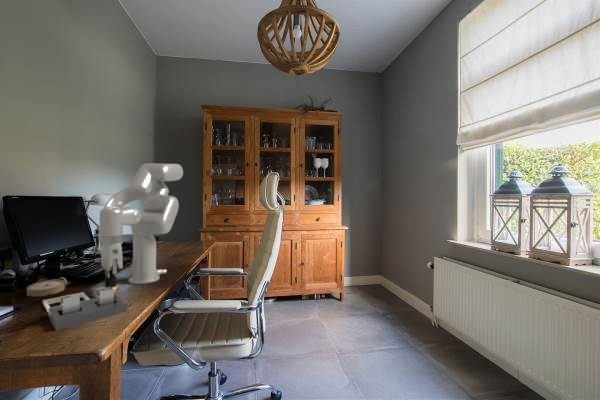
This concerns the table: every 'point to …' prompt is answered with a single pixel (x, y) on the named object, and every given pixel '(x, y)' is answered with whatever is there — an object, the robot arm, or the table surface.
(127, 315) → the table surface
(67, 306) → the block
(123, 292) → the button housing
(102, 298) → the billet
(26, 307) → the table surface
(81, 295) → the tray
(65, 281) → the alarm clock
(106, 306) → the grey slotted frame
